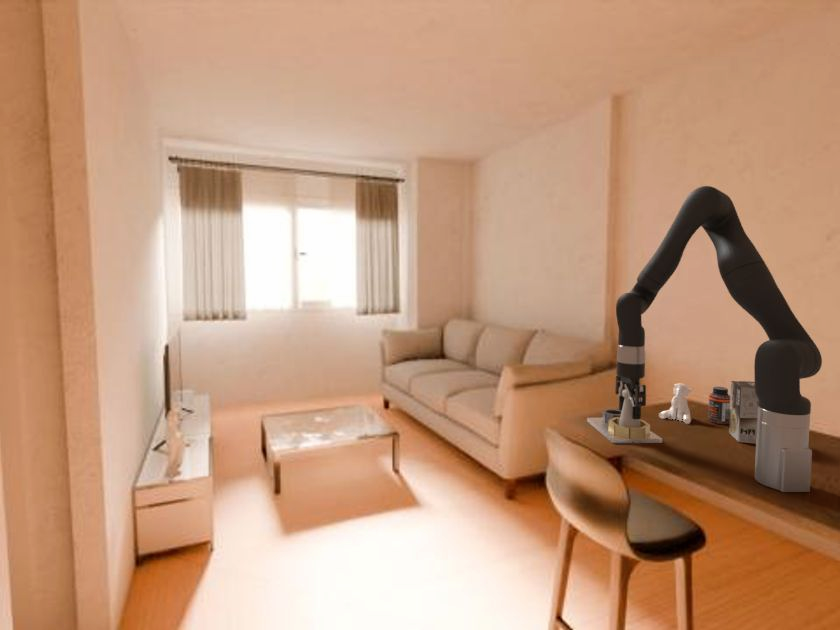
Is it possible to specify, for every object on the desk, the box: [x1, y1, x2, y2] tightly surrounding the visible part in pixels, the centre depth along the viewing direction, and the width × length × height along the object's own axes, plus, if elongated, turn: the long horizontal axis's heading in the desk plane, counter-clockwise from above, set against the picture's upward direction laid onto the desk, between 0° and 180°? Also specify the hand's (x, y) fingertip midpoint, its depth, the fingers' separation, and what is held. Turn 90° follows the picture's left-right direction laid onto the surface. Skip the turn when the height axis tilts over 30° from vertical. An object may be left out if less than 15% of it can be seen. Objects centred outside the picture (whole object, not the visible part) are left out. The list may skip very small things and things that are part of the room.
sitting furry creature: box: [658, 382, 693, 425], centre depth 151 cm, size 10×9×12 cm
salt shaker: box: [619, 389, 641, 427], centre depth 135 cm, size 6×6×13 cm
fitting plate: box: [586, 408, 663, 444], centre depth 140 cm, size 20×14×4 cm
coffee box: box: [728, 380, 758, 445], centre depth 132 cm, size 9×6×16 cm
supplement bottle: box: [707, 386, 730, 425], centre depth 147 cm, size 6×6×11 cm
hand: (629, 414), depth 135 cm, fingers open, 8 cm apart
